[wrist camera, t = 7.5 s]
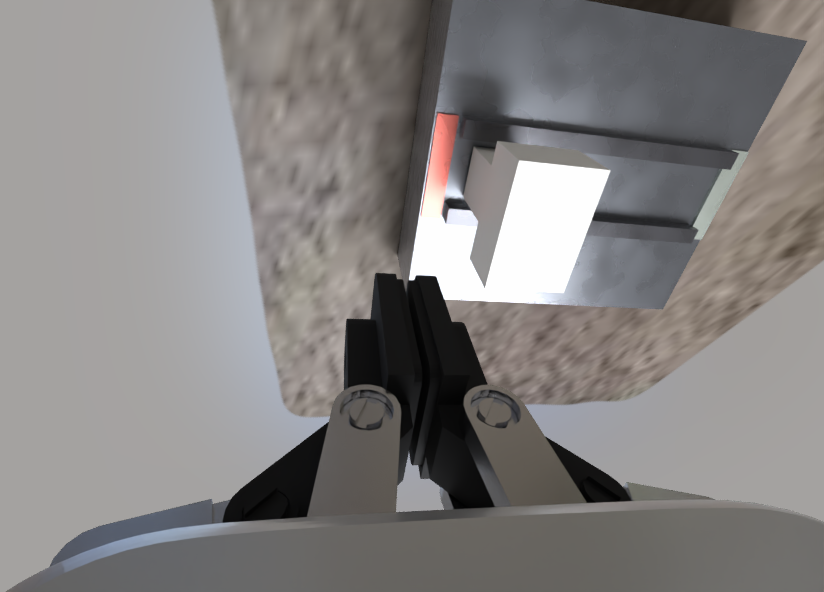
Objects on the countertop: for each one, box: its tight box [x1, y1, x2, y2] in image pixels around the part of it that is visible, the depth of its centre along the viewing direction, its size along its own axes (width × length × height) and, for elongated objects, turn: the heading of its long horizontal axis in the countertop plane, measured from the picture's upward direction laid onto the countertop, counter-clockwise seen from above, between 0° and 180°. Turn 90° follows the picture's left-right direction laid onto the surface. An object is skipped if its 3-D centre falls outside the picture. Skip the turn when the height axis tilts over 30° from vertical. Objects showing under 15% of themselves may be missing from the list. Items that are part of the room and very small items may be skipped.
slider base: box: [398, 0, 807, 309], centre depth 29 cm, size 18×20×7 cm
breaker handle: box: [463, 141, 611, 293], centre depth 23 cm, size 6×4×8 cm, turn 172°
